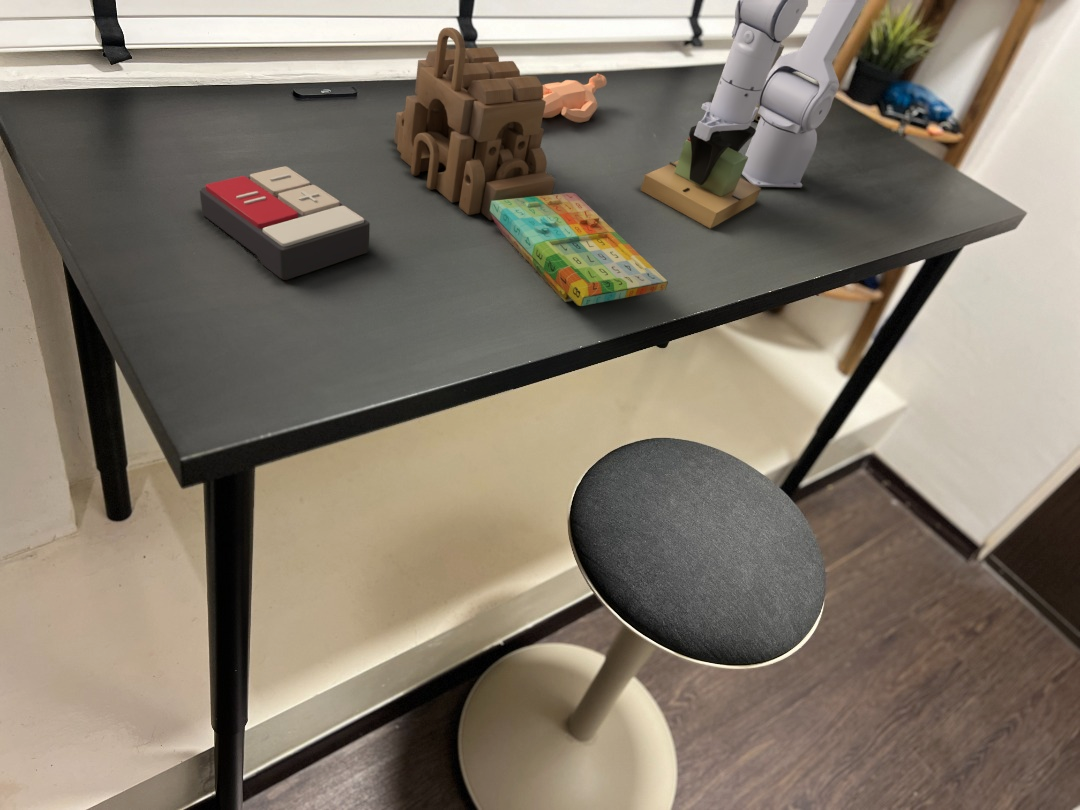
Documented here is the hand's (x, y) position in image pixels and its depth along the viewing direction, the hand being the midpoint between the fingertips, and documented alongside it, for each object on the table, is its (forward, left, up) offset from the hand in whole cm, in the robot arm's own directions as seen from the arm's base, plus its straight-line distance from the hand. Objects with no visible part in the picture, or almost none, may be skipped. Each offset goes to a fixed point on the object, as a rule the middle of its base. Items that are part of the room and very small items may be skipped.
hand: (706, 176), depth 112 cm
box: (0, 0, -1) cm, 1 cm away
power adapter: (-43, -49, -3) cm, 65 cm away
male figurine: (+14, -26, -3) cm, 30 cm away
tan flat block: (0, 0, -3) cm, 3 cm away
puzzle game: (+28, +17, -3) cm, 33 cm away
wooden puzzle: (+34, -5, -3) cm, 35 cm away
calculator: (+59, +9, -3) cm, 60 cm away
